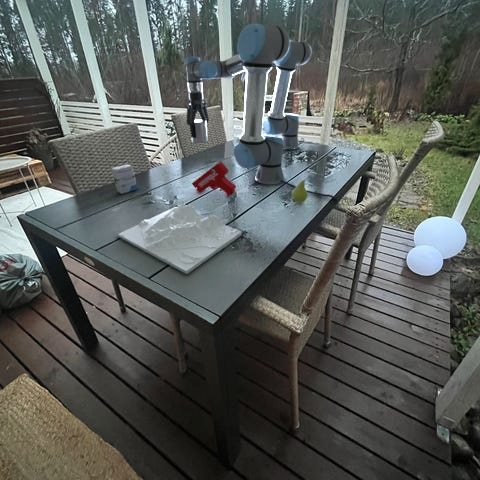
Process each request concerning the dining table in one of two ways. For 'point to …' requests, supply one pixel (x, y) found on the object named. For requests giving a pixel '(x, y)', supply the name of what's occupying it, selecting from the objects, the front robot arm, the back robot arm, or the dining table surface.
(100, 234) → the dining table surface
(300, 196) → the fruit
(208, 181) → the toy gun
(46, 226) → the dining table surface
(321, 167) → the dining table surface
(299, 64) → the back robot arm
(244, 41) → the front robot arm
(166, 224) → the relief map
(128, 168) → the ink box
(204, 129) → the can
